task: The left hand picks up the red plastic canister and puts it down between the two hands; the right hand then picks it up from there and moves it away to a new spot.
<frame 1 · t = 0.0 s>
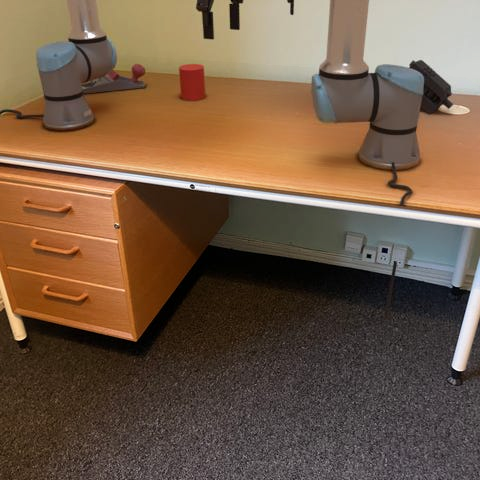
left hand: (222, 34, 142), 28 cm above the table, tool pointing down, fingers open, 13 cm apart
right hand: (313, 13, 166), 28 cm above the table, tool pointing down, fingers open, 13 cm apart
tool: (418, 108, 173), on the table
canister: (193, 96, 188), on the table
hand plane: (105, 89, 198), on the table
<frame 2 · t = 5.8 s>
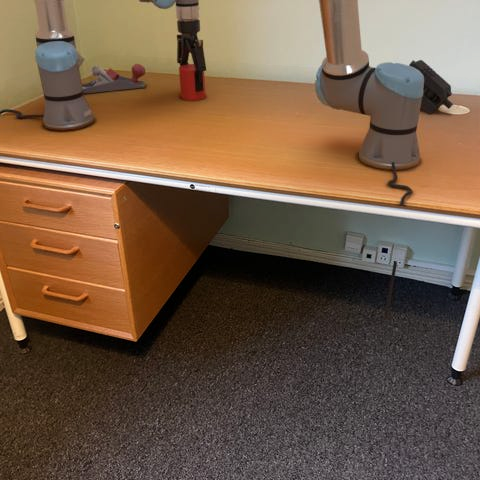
left hand: (192, 87, 187), 3 cm above the table, tool pointing down, fingers closed on canister, 9 cm apart
canister: (193, 96, 188), on the table, touching left hand
everything else where it was.
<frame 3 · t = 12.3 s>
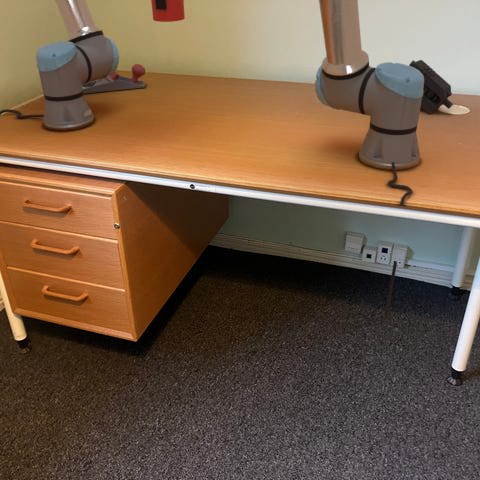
left hand: (167, 6, 143), 34 cm above the table, tool pointing down, fingers closed on canister, 9 cm apart
canister: (169, 18, 144), point 31 cm above the table, touching left hand
everything else where it was.
when the left hand's fingers open (4 cm above the table, at t = 19.1 s): canister drops 1 cm, on the table.
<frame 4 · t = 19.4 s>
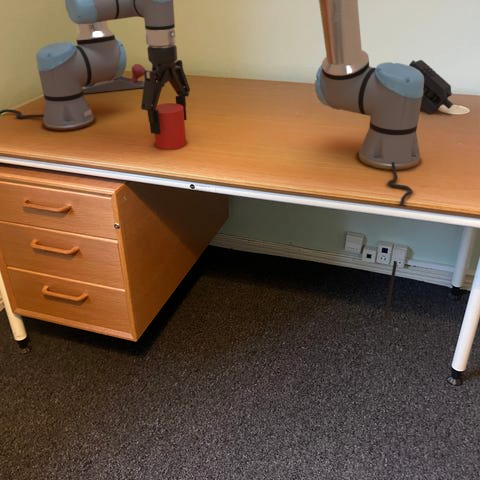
left hand: (169, 126, 148), 5 cm above the table, tool pointing down, fingers open, 12 cm apart
canister: (170, 143, 151), on the table
everything else where it was.
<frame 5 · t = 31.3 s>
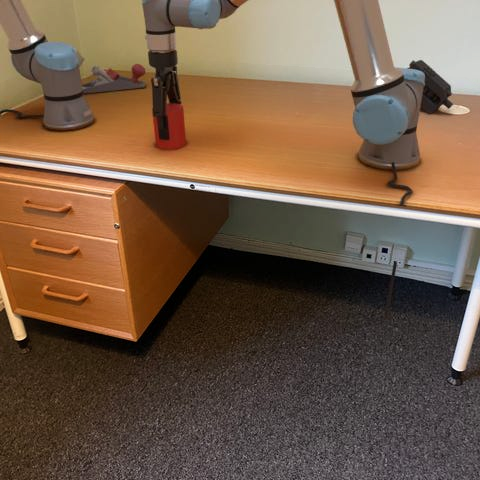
right hand: (169, 133, 149), 3 cm above the table, tool pointing down, fingers closed on canister, 9 cm apart
canister: (171, 143, 151), on the table, touching right hand
everything else where it was.
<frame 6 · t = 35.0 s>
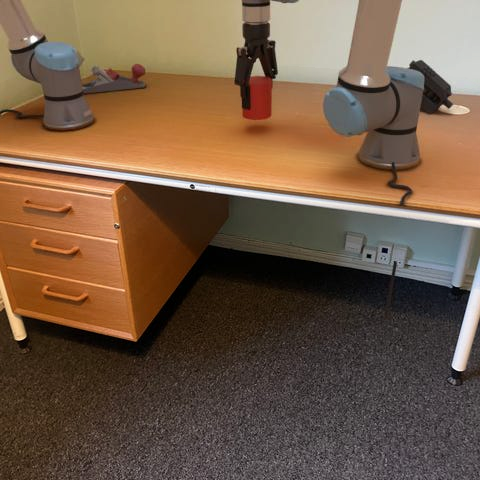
right hand: (256, 104, 155), 8 cm above the table, tool pointing down, fingers closed on canister, 9 cm apart
canister: (256, 115, 157), point 4 cm above the table, touching right hand
everything else where it was.
when the right hand's fingers open (4 cm above the table, at t = 38.6 s): canister drops 1 cm, on the table.
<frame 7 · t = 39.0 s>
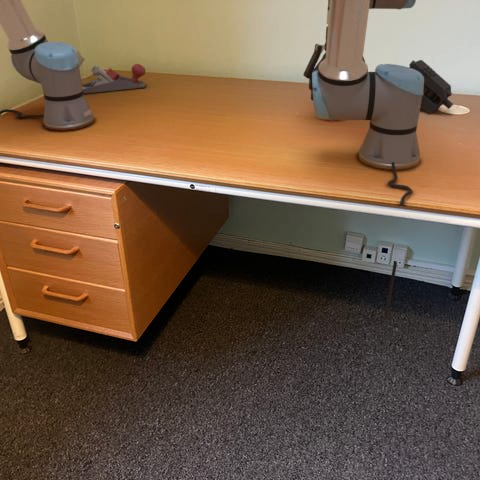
right hand: (333, 98, 165), 6 cm above the table, tool pointing down, fingers open, 13 cm apart
canister: (332, 116, 168), on the table
everything else where it was.
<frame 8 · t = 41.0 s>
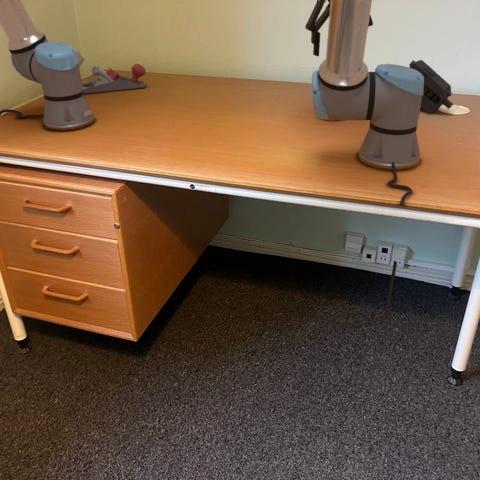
right hand: (337, 53, 158), 19 cm above the table, tool pointing down, fingers open, 13 cm apart
nothing on the table moved.
at the end: canister inside the target area (0.1 cm from its centre), on the table; canister tilted 0°; the two hands never held the canister at the same time; the left hand is holding nothing; the right hand is holding nothing; canister at rest at the end (0.0 cm/s) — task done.
